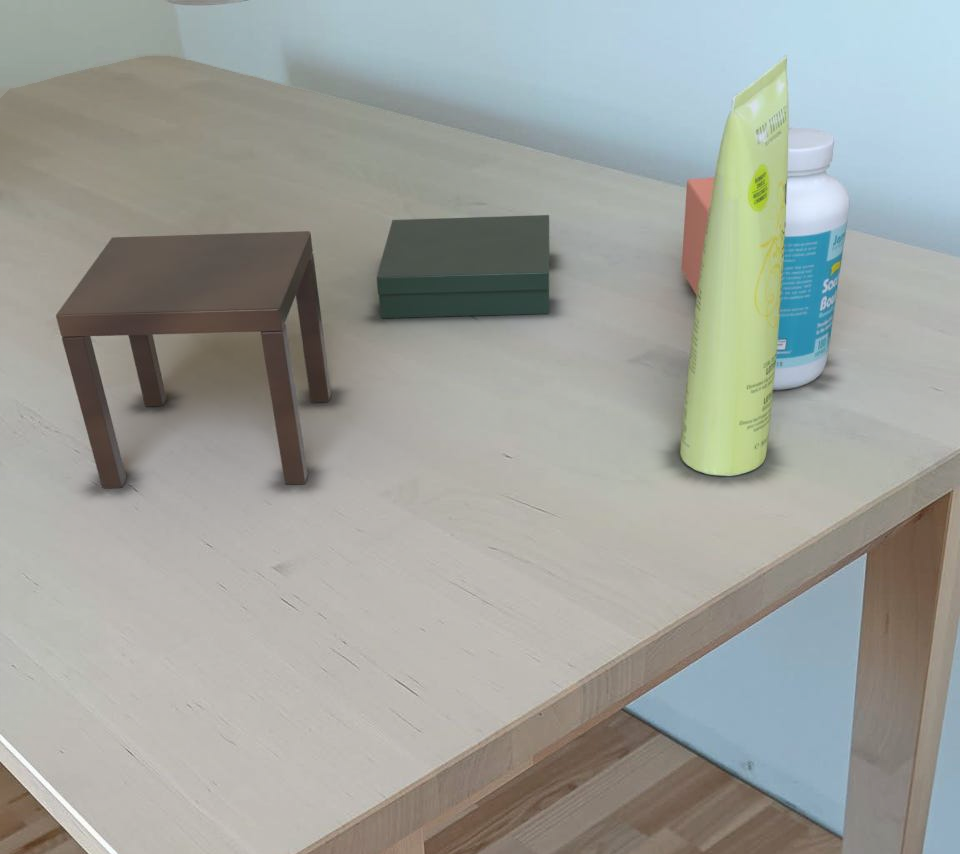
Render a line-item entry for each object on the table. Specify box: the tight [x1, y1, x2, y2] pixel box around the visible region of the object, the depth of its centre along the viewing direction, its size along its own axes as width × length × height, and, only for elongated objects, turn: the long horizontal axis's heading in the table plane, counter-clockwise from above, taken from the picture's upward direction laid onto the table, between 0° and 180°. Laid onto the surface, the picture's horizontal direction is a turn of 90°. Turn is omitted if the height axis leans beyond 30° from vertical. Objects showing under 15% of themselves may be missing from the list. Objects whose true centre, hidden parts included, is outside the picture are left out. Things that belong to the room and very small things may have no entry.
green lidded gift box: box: [376, 214, 550, 319], centre depth 93 cm, size 12×12×3 cm
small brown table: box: [55, 230, 332, 489], centre depth 75 cm, size 12×12×10 cm
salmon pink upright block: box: [681, 176, 715, 297], centre depth 88 cm, size 8×12×8 cm, turn 5°
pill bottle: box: [773, 127, 851, 391], centre depth 77 cm, size 8×7×14 cm
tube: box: [679, 54, 790, 477], centre depth 67 cm, size 6×5×20 cm
